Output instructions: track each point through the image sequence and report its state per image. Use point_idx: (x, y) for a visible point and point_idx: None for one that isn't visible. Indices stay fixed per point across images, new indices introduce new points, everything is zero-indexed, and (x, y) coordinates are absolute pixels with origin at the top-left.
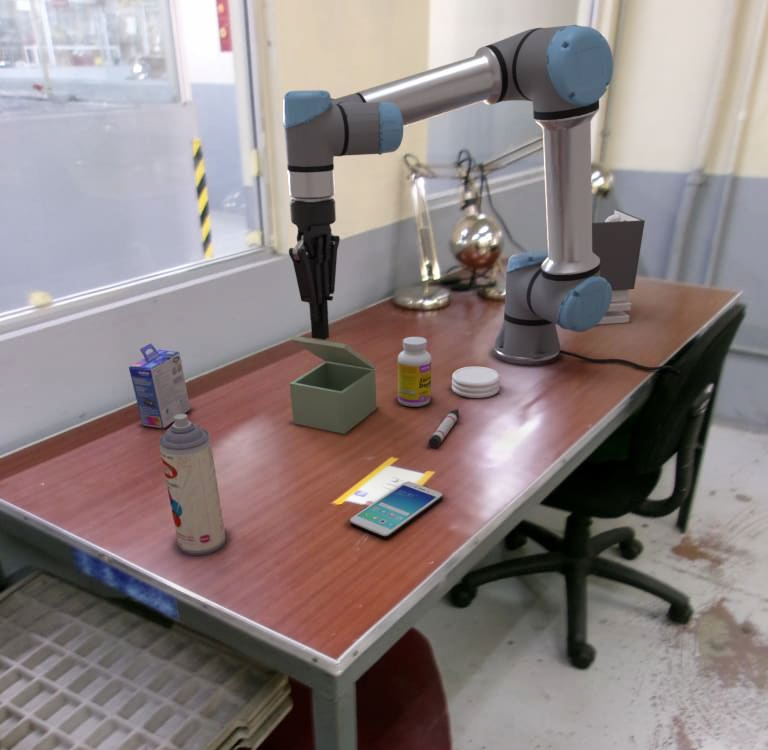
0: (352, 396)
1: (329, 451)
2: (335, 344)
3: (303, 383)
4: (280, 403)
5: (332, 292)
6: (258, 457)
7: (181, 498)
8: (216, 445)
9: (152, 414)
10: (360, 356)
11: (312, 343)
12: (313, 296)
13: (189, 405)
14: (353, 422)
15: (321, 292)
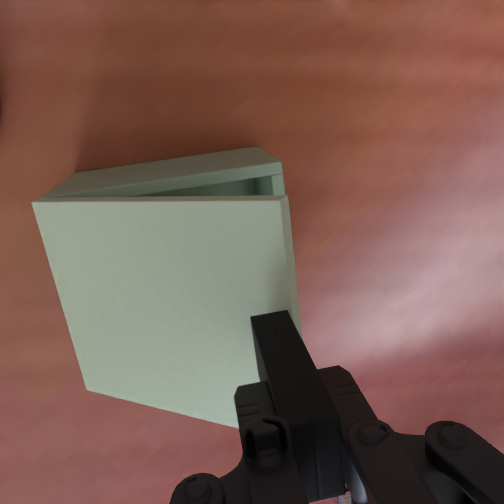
0: (214, 165)
1: (355, 115)
2: (289, 246)
3: None
4: None
5: (200, 482)
6: (449, 233)
7: None
8: (440, 339)
9: None
10: (144, 199)
11: None
12: (475, 452)
13: (341, 501)
14: (209, 154)
15: (365, 478)
